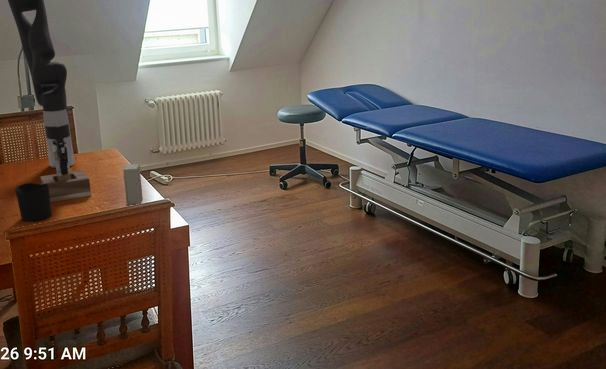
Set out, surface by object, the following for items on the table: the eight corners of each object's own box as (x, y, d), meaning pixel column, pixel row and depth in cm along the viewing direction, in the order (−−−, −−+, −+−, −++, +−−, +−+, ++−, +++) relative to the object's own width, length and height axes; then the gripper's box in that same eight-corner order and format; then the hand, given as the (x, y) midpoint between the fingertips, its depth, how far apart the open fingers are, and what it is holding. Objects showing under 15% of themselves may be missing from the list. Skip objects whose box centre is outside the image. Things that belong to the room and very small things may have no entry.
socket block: (42, 193, 219) (40, 176, 217) (84, 186, 225) (82, 170, 224) (47, 202, 209) (45, 185, 207) (91, 195, 215) (89, 178, 214)
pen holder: (46, 210, 202) (41, 180, 199) (57, 217, 195) (53, 186, 192) (16, 217, 196) (10, 186, 193) (26, 225, 189) (21, 193, 186)
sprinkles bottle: (73, 183, 215) (68, 145, 211) (59, 186, 213) (54, 147, 209) (70, 180, 219) (64, 142, 215) (56, 182, 217) (50, 144, 213)
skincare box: (129, 199, 211) (126, 163, 207) (143, 198, 211) (139, 163, 207) (126, 205, 205) (122, 169, 201) (140, 204, 205) (136, 168, 201)
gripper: (41, 121, 214) (48, 169, 219) (47, 128, 202) (55, 179, 207) (64, 118, 218) (71, 166, 223) (72, 125, 206) (78, 176, 211)
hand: (63, 172), depth 215 cm, fingers closed on sprinkles bottle, 4 cm apart
